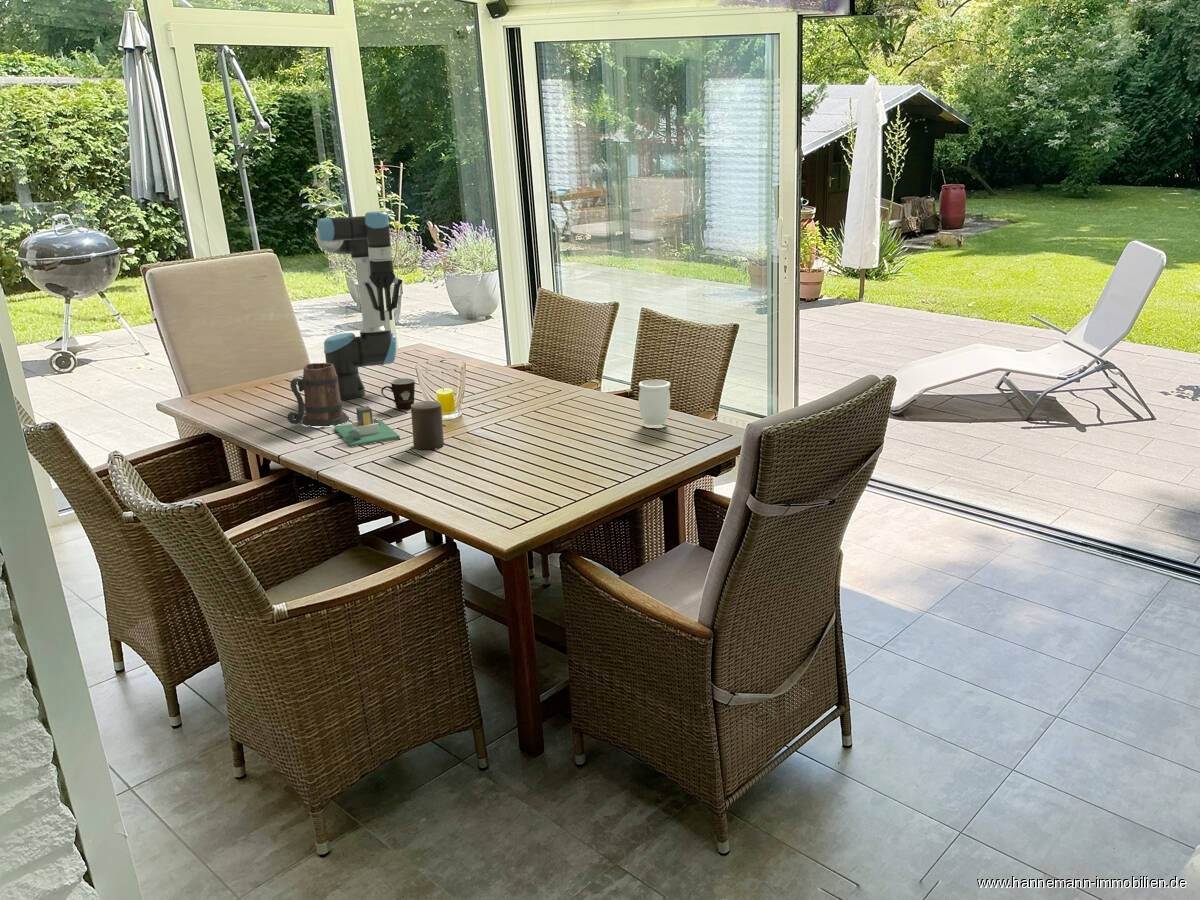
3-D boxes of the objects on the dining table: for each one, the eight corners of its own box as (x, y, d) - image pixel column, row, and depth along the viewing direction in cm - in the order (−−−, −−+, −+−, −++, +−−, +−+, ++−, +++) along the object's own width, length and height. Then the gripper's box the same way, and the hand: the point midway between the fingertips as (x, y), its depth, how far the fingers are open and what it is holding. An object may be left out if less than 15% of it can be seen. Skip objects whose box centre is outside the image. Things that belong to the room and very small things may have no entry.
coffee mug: (419, 404, 358) (417, 378, 355) (413, 411, 350) (411, 384, 347) (389, 404, 359) (386, 378, 356) (382, 410, 351) (379, 384, 348)
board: (334, 429, 330) (333, 418, 329) (380, 422, 338) (379, 411, 336) (351, 447, 312) (350, 435, 311) (399, 438, 319) (398, 427, 318)
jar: (674, 423, 328) (674, 380, 324) (663, 432, 320) (663, 388, 315) (645, 420, 333) (645, 377, 328) (634, 428, 324) (633, 385, 319)
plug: (358, 430, 325) (356, 407, 323) (370, 428, 327) (367, 406, 325) (362, 434, 322) (359, 410, 319) (374, 431, 324) (371, 408, 321)
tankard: (327, 411, 352) (320, 357, 346) (360, 418, 343) (354, 363, 337) (274, 428, 334) (267, 372, 327) (308, 435, 325) (300, 378, 318)
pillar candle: (430, 452, 306) (427, 406, 301) (407, 447, 311) (403, 402, 306) (450, 443, 313) (447, 399, 309) (427, 439, 318) (424, 395, 314)
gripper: (364, 262, 314) (371, 334, 322) (403, 259, 320) (409, 329, 328) (358, 260, 321) (365, 330, 328) (396, 256, 326) (402, 325, 334)
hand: (387, 329), depth 328 cm, fingers closed
